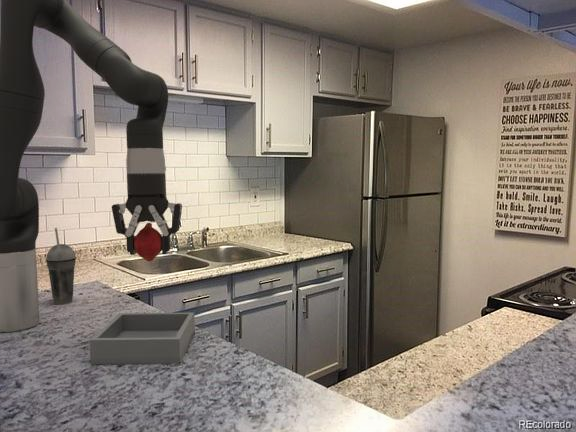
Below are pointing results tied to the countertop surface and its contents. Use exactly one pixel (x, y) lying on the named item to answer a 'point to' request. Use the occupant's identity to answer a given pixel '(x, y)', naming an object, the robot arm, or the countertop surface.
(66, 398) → the countertop surface
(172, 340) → the tray
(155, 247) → the onion
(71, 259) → the beverage cup
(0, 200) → the robot arm
